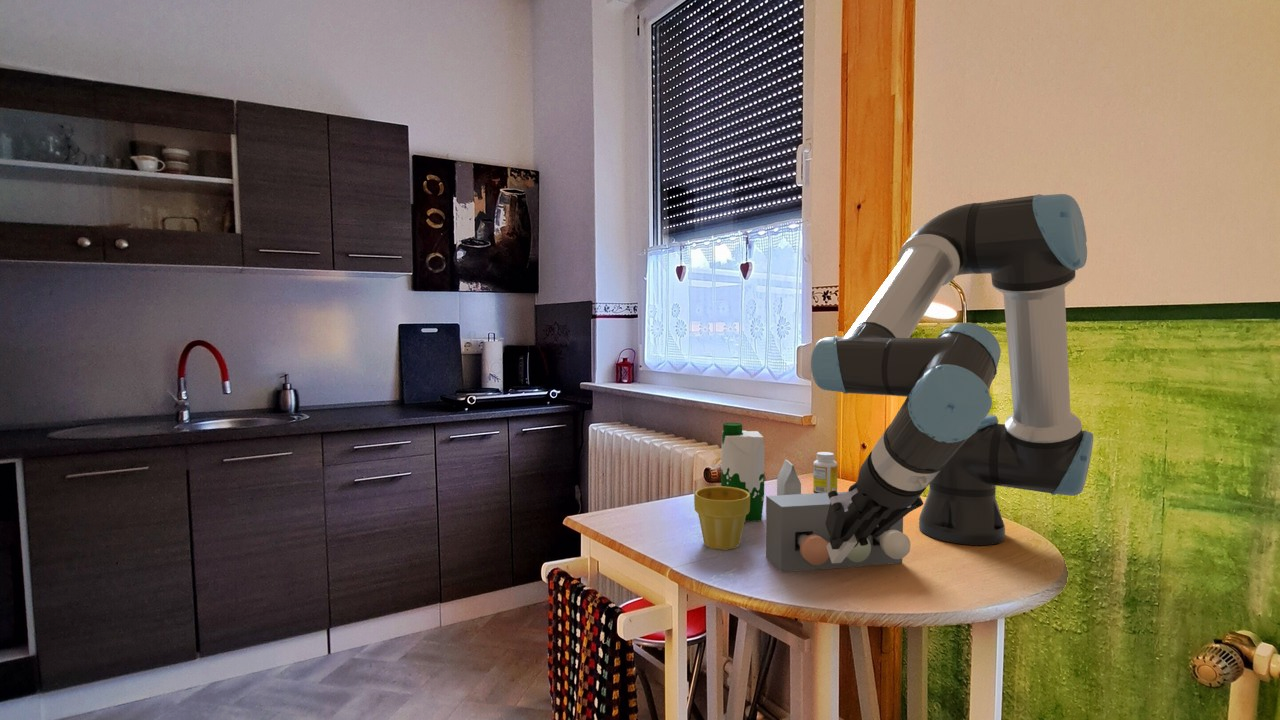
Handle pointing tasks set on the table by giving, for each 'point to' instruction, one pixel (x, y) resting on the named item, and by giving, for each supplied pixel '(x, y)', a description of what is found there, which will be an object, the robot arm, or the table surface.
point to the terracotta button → (813, 548)
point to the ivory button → (894, 543)
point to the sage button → (859, 552)
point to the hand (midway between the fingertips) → (833, 554)
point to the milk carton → (744, 465)
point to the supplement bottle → (824, 473)
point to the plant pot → (722, 515)
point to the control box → (808, 532)
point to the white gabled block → (788, 480)
